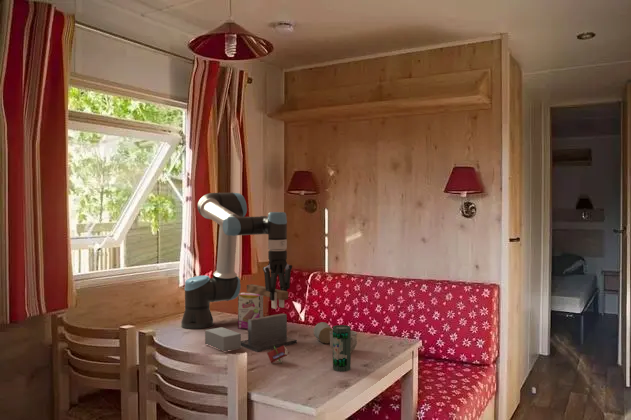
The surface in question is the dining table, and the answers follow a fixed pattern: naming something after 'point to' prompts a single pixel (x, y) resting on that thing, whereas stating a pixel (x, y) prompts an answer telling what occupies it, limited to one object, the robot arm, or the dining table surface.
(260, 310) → the candy bar box
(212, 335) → the grey stand
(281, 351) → the geometric puzzle
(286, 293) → the walnut bar
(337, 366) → the can
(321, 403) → the dining table surface
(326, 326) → the ceramic mug
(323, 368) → the dining table surface
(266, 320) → the metal ridge
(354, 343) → the teacup
